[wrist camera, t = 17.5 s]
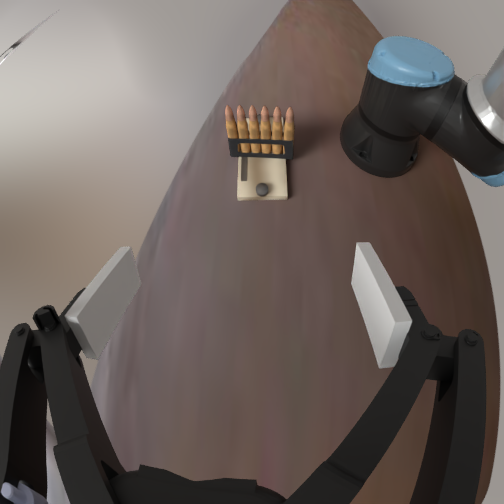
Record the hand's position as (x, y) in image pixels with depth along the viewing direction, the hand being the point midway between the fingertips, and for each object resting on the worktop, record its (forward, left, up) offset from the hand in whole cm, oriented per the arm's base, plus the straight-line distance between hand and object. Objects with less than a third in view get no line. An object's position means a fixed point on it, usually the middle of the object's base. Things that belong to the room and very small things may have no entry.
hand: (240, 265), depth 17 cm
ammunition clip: (0, -26, -27) cm, 37 cm away
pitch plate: (0, -26, -28) cm, 38 cm away
